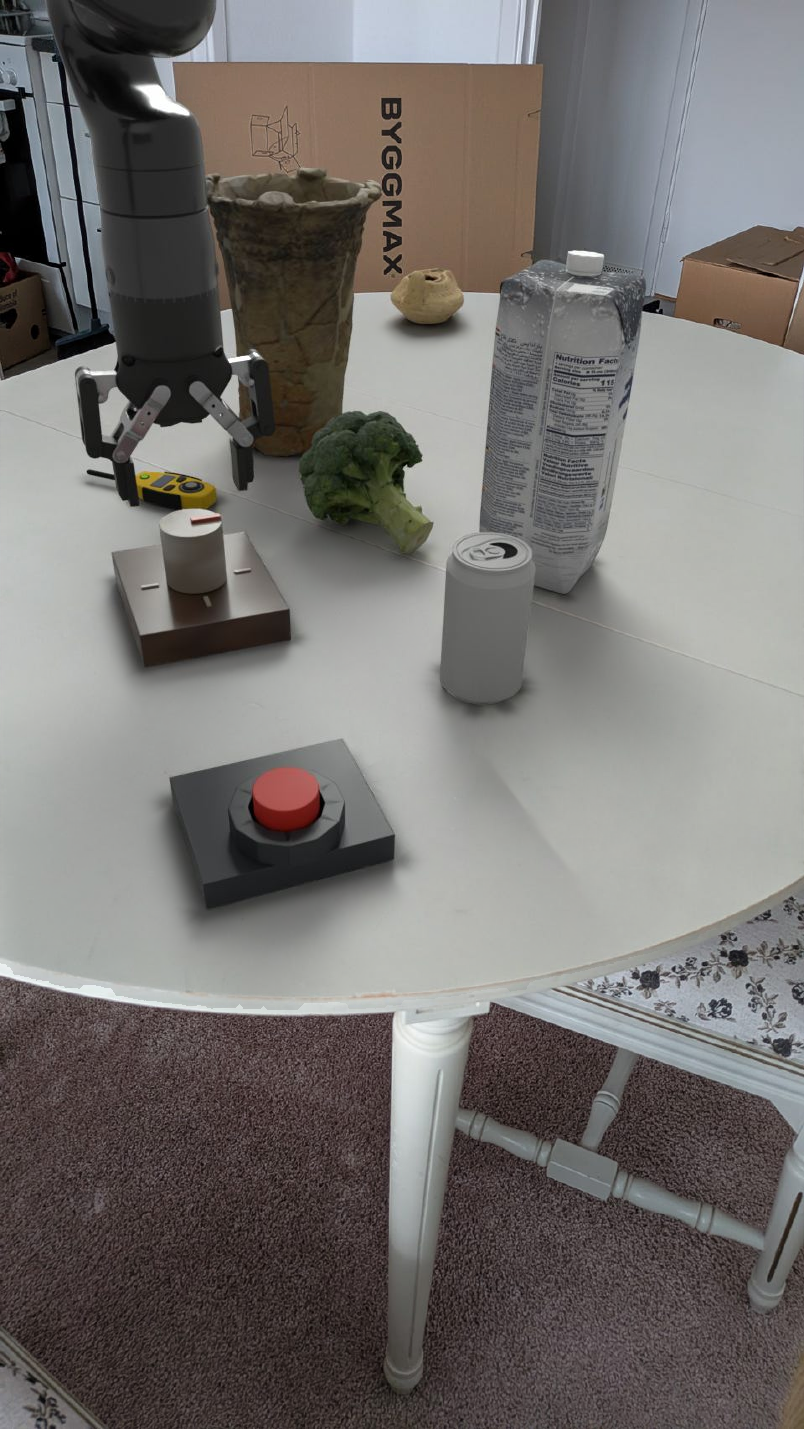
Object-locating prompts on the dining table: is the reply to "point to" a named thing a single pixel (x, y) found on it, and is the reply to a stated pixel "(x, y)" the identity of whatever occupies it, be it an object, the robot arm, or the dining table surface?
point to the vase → (292, 289)
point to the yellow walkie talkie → (170, 489)
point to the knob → (193, 550)
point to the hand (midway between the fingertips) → (187, 494)
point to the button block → (262, 860)
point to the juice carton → (559, 409)
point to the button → (286, 799)
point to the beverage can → (486, 617)
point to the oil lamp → (428, 296)
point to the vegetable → (364, 475)
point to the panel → (200, 605)
